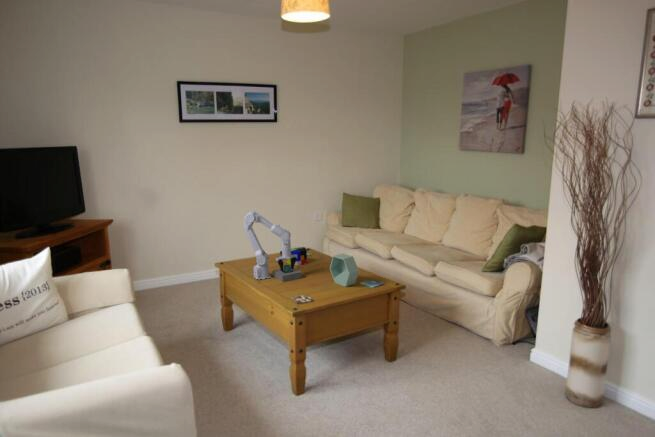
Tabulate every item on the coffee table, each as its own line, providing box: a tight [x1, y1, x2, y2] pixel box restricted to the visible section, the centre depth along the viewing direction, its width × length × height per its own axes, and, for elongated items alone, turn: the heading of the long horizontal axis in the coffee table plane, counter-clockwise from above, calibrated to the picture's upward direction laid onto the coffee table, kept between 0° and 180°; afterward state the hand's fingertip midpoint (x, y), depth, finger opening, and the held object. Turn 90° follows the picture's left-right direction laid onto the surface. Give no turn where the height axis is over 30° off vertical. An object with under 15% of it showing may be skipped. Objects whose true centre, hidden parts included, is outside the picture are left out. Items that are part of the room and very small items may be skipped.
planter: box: [329, 253, 360, 288], centre depth 290 cm, size 17×8×21 cm
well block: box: [272, 267, 303, 283], centre depth 306 cm, size 14×14×4 cm
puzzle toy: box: [286, 247, 308, 267], centre depth 337 cm, size 10×10×10 cm
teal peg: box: [283, 264, 291, 273], centre depth 305 cm, size 4×4×7 cm
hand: (287, 269), depth 306 cm, fingers open, 7 cm apart
